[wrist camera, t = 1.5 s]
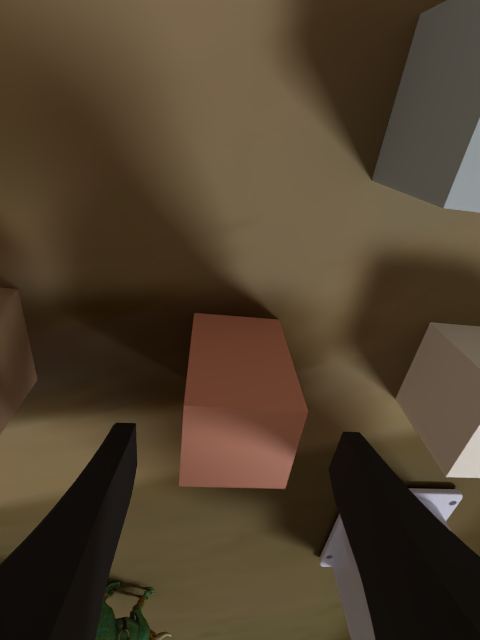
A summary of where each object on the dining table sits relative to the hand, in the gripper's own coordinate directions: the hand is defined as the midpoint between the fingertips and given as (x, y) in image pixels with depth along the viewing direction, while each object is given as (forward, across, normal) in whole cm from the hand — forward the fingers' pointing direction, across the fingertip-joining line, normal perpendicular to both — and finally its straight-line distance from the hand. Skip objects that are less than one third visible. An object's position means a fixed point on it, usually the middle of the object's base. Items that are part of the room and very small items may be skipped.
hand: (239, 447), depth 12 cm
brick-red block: (+6, 0, 0) cm, 6 cm away
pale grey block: (+6, -12, 0) cm, 13 cm away
